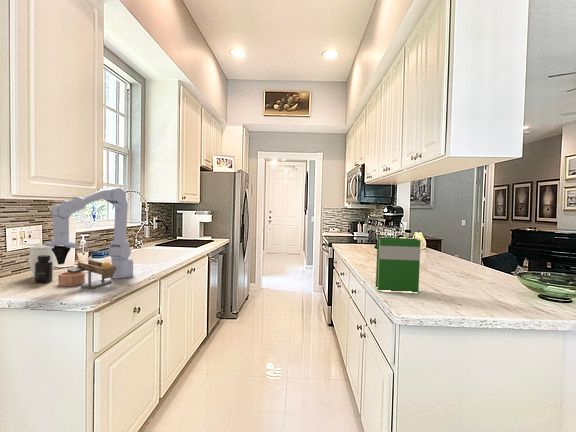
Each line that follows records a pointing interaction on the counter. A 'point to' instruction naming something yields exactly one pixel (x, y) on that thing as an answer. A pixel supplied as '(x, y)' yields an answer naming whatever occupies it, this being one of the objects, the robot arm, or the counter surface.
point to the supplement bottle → (43, 269)
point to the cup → (71, 278)
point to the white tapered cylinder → (37, 251)
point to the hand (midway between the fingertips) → (61, 264)
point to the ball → (106, 265)
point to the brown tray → (94, 268)
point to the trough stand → (94, 284)
